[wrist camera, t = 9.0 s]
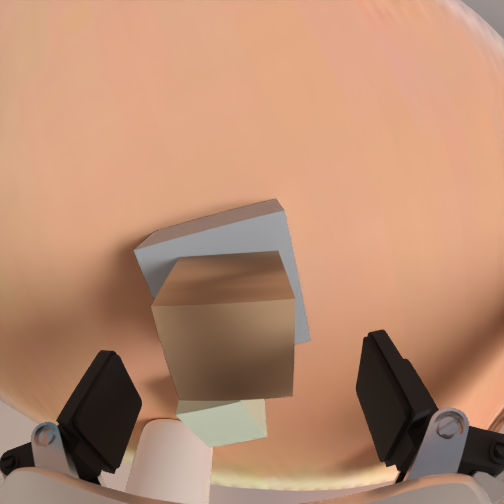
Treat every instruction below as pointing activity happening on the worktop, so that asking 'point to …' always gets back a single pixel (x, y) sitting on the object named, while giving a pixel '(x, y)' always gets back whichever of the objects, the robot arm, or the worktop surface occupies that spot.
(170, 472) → the pill bottle
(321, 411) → the worktop surface
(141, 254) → the base block
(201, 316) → the walnut cube
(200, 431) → the sage cube
